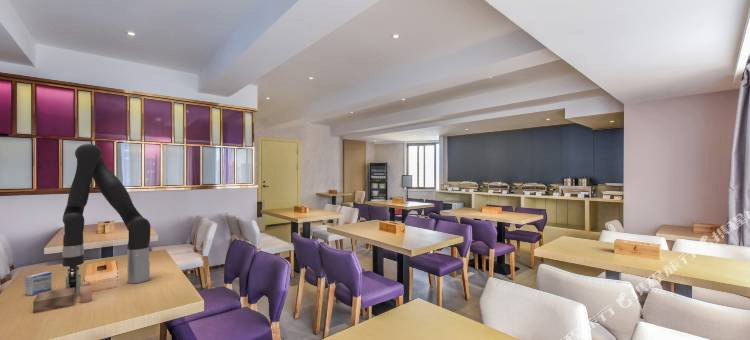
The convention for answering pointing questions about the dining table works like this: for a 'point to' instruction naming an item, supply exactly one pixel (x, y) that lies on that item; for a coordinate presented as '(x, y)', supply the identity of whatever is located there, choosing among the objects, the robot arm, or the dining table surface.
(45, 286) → the medicine box
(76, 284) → the green block
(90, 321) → the dining table surface
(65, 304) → the walnut block
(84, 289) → the terracotta shaker
